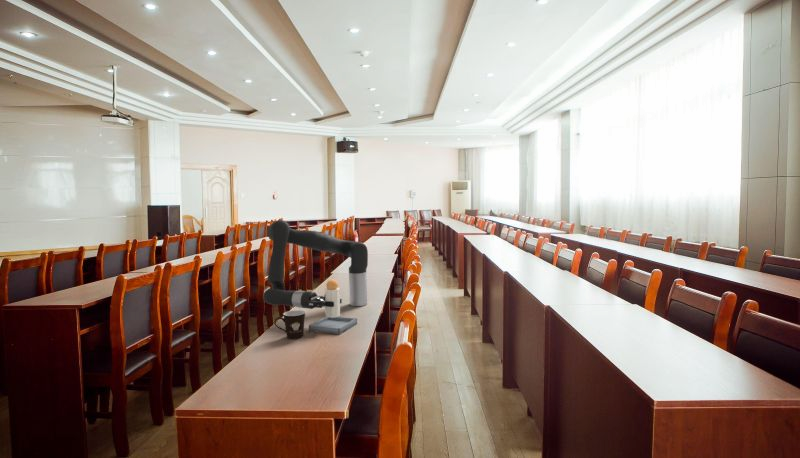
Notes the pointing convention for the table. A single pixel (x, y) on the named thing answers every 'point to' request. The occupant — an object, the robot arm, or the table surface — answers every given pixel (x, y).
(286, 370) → the table surface
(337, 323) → the tray
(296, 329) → the coffee mug
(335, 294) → the white hexagonal prism
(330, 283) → the ball
